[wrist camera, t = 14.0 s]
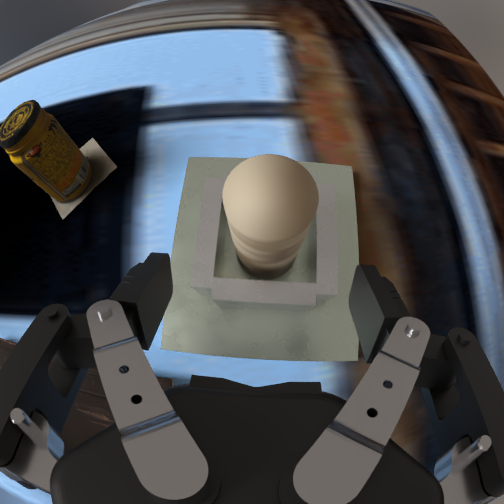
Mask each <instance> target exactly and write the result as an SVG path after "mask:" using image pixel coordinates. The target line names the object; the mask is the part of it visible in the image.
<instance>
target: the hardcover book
mask: <svg viewBox="0 0 504 504" xmlns="http://www.w3.org/2000/svg"><path fill="white" fill-rule="evenodd" d="M16 345H17V344H16V343H13V342H10V341H7V340H4V339H1V338H0V369H1V368H2V366H3V365H4V363H5V362H6V360H7V358H8V357H9V355H10V354H11V352H12V351H13V349H14V348H15V346H16ZM55 360H56V357H55V356H54V357H53V359H52V360H51V362H50V364H49V367H48V373H49V371H50V369H51V368H52V366H53V364H54V362H55ZM156 378H157V380H158V382H159V384H160V386H161V388H162V390H163V391H164V390H166V389H168V388H171V387H174V381H173V379H169V378H162V377H156ZM113 423H115V419H114V416H113V414H112V411H111V408H110V405H109V403H108V400H107V397H106V394H105V391H104V388H103V384H102V381H101V378H100V375H99V371H98V368H97V367H95V368H89V369H88V371H87V373H86V375H85V377H84V380H83V382H82V384H81V386H80V389H79V391H78V393H77V395H76V398H75V400H74V402H73V405H72V407H71V410H70V412H69V414H68V417H67V419H66V422H65V424H64V427H63V430H62V432H61V435H60V436H61V437H62V439H63V442H64V451H63V453H64V454H65V453H66V452H68V451H70V450H71V449H73V448H75V447H76V446H78V445H79V444H81V443H83V442H84V441H86V440H88V439H89V438H91V437H92V436H94V435H96V434H97V433H99V432H100V431H102V430H104V429H105V428H107V427H108V426H110V425H111V424H113Z"/></svg>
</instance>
